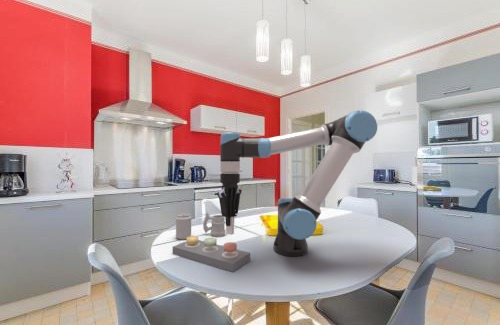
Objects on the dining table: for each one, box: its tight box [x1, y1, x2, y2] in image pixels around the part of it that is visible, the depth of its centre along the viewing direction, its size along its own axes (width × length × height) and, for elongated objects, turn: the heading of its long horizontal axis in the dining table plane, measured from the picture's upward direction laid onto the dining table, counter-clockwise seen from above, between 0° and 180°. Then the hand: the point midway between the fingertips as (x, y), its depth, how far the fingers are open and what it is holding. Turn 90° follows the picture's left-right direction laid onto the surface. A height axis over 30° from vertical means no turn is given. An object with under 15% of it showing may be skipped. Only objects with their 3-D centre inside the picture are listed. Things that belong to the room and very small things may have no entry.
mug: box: [202, 211, 226, 238], centre depth 125 cm, size 8×12×12 cm, turn 91°
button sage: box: [203, 237, 218, 247], centre depth 97 cm, size 5×5×2 cm
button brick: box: [223, 241, 238, 252], centre depth 92 cm, size 5×5×2 cm
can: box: [175, 212, 192, 241], centre depth 120 cm, size 8×8×12 cm
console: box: [172, 239, 251, 273], centre depth 97 cm, size 31×12×3 cm, turn 59°
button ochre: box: [185, 235, 199, 245], centre depth 102 cm, size 5×5×2 cm
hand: (230, 233), depth 92 cm, fingers closed
